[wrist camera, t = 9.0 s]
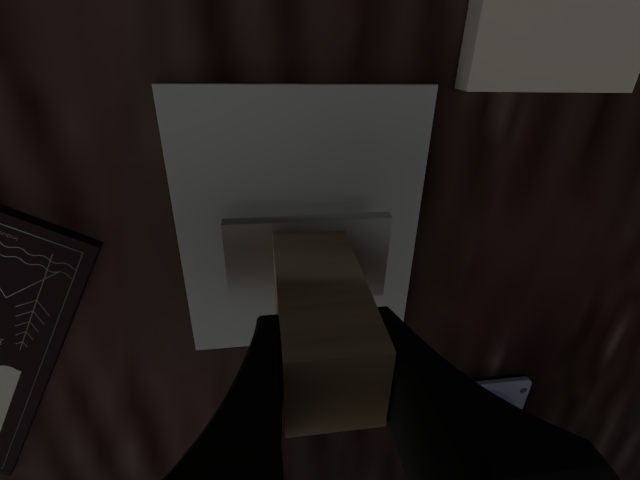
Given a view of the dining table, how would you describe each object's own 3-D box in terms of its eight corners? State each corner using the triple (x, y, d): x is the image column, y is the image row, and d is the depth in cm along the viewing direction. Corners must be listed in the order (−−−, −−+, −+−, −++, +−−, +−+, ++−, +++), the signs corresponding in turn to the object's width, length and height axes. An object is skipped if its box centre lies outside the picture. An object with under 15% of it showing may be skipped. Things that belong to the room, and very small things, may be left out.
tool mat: (399, 328, 24) (401, 333, 24) (196, 345, 23) (196, 350, 22) (434, 83, 18) (437, 84, 17) (153, 82, 16) (151, 83, 16)
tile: (632, 92, 18) (705, -106, 15) (466, 91, 17) (506, -124, 14) (604, 88, 19) (665, -94, 16) (450, 86, 18) (482, -109, 15)
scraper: (379, 287, 19) (445, 429, 12) (230, 297, 18) (216, 457, 12) (388, 211, 17) (471, 332, 11) (221, 218, 16) (198, 355, 10)
